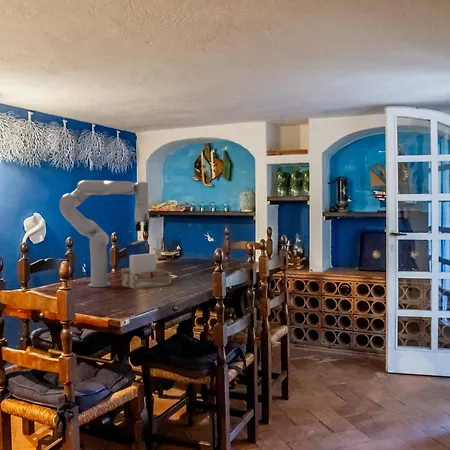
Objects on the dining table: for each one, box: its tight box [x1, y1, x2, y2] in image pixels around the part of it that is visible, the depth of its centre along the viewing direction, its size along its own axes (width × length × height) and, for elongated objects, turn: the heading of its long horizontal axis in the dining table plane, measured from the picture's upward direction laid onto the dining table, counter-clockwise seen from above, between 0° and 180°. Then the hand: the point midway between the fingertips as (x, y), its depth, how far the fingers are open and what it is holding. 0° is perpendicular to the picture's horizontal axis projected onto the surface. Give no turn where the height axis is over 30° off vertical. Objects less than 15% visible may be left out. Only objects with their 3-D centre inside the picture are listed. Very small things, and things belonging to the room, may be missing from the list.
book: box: [125, 239, 149, 268], centre depth 313 cm, size 22×7×25 cm, turn 168°
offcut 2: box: [150, 270, 166, 278], centre depth 297 cm, size 4×8×8 cm, turn 132°
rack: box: [120, 264, 172, 290], centre depth 296 cm, size 17×24×10 cm
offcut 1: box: [135, 272, 151, 280], centre depth 290 cm, size 4×8×8 cm, turn 132°
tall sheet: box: [130, 253, 157, 275], centre depth 299 cm, size 4×16×18 cm, turn 132°
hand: (142, 231), depth 295 cm, fingers open, 9 cm apart
